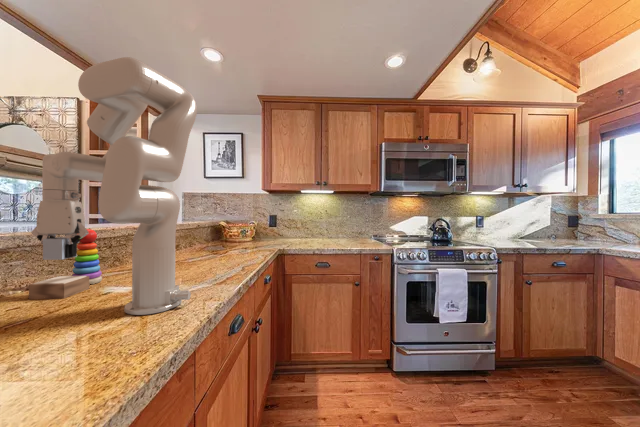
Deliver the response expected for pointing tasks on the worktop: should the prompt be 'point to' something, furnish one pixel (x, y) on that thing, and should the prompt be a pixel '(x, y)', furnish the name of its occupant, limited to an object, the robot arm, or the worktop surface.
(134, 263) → the robot arm
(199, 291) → the worktop surface
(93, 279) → the stacking toy
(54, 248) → the grey block
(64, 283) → the walnut tray
